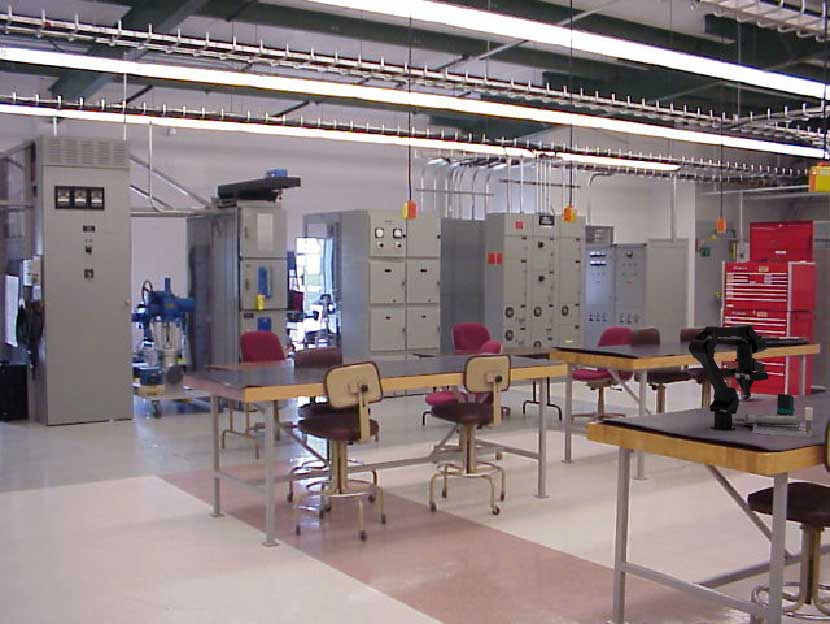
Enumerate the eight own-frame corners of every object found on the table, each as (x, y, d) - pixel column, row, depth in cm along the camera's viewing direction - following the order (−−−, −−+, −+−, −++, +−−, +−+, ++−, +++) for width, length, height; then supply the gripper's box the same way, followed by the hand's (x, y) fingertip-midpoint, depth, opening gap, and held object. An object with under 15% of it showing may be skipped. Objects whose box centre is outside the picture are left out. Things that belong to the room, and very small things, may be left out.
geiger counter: (802, 412, 322) (731, 411, 329) (802, 429, 321) (732, 427, 328) (796, 415, 335) (729, 413, 342) (797, 431, 334) (729, 429, 341)
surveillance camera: (800, 392, 346) (791, 394, 339) (799, 422, 347) (790, 425, 339) (785, 391, 350) (777, 393, 343) (784, 420, 350) (776, 423, 343)
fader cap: (804, 430, 314) (805, 408, 314) (804, 428, 318) (805, 407, 318) (812, 431, 313) (812, 409, 313) (811, 429, 317) (812, 407, 317)
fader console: (752, 433, 318) (752, 426, 318) (753, 428, 328) (753, 422, 328) (811, 437, 310) (811, 431, 310) (811, 433, 320) (811, 426, 320)
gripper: (778, 355, 327) (781, 395, 329) (743, 350, 345) (746, 388, 346) (755, 360, 323) (758, 400, 325) (721, 354, 341) (724, 392, 343)
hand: (747, 395), depth 335 cm, fingers closed
